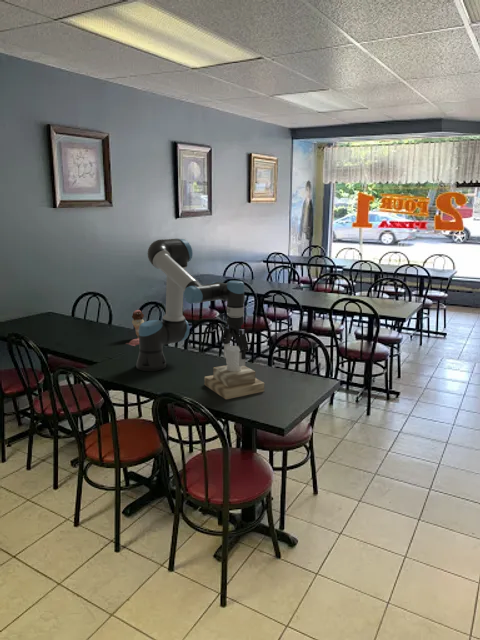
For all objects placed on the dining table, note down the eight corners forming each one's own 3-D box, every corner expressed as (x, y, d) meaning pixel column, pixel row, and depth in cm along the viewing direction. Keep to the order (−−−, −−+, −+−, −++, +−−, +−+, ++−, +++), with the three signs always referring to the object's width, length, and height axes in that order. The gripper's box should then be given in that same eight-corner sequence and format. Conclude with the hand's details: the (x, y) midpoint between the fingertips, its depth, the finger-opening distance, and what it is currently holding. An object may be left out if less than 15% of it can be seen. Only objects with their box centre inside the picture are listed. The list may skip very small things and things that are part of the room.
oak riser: (204, 384, 233) (204, 366, 231) (241, 377, 243) (241, 360, 241) (225, 399, 216) (226, 379, 214) (264, 391, 226) (264, 372, 224)
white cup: (244, 367, 230) (245, 346, 228) (240, 373, 223) (240, 351, 220) (228, 365, 232) (228, 345, 230) (223, 371, 225) (223, 349, 223)
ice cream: (140, 336, 313) (139, 308, 309) (156, 341, 302) (155, 312, 298) (117, 340, 302) (116, 311, 298) (132, 346, 291) (132, 316, 287)
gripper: (214, 311, 230) (214, 355, 235) (242, 322, 210) (241, 370, 214) (228, 309, 234) (227, 353, 239) (257, 320, 213) (256, 368, 218)
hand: (234, 361), depth 227 cm, fingers open, 13 cm apart
